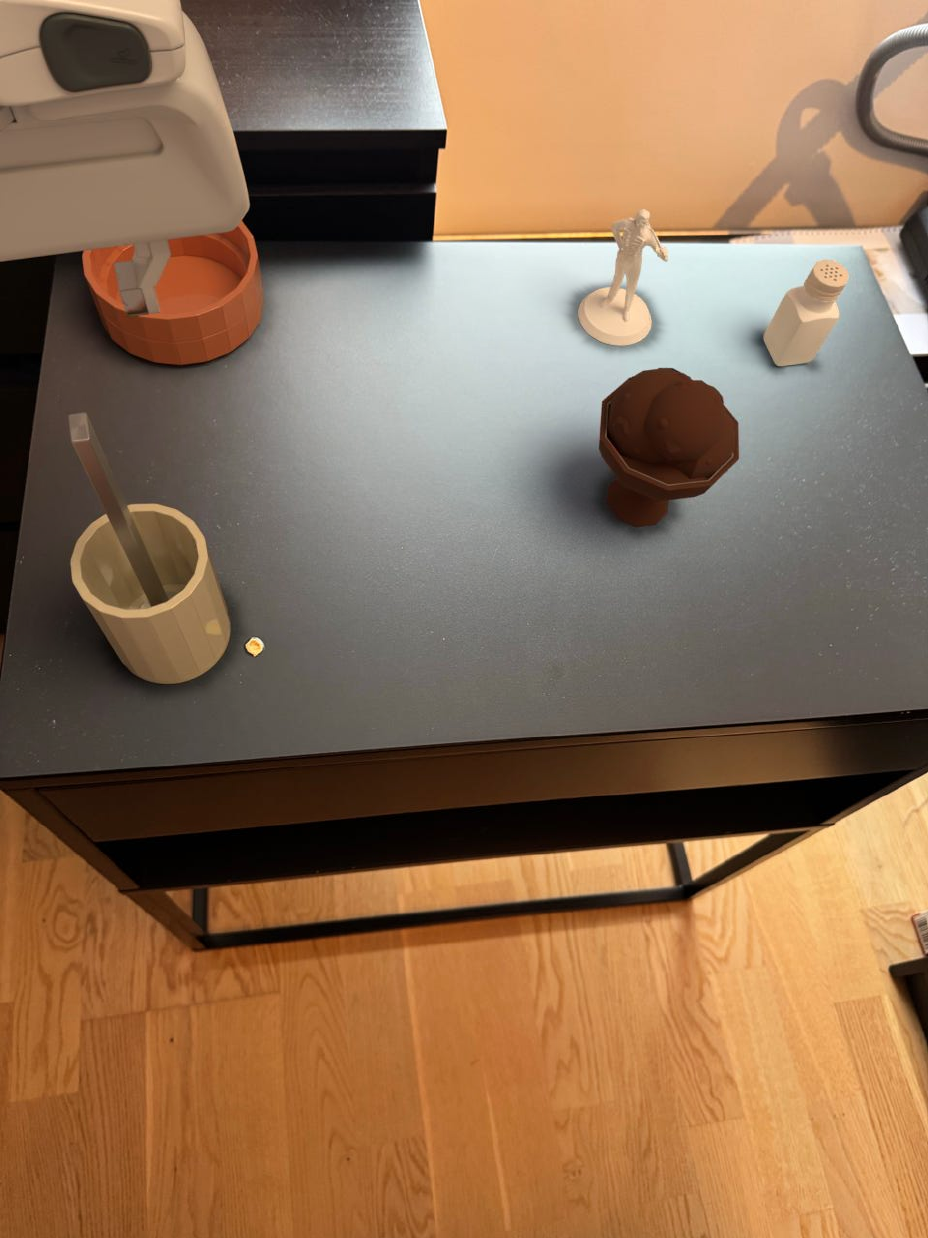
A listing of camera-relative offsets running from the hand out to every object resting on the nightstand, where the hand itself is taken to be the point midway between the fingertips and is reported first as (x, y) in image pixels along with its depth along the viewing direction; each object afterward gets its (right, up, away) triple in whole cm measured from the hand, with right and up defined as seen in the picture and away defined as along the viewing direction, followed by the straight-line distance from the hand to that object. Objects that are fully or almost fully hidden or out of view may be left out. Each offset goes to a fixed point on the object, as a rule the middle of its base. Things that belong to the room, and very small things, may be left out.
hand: (33, 320), depth 40 cm
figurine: (+33, +15, +46) cm, 59 cm away
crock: (-3, -14, +27) cm, 31 cm away
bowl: (-6, +15, +41) cm, 44 cm away
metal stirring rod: (-3, -14, +27) cm, 30 cm away
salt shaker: (+50, +12, +46) cm, 69 cm away
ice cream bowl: (+34, -3, +37) cm, 50 cm away
